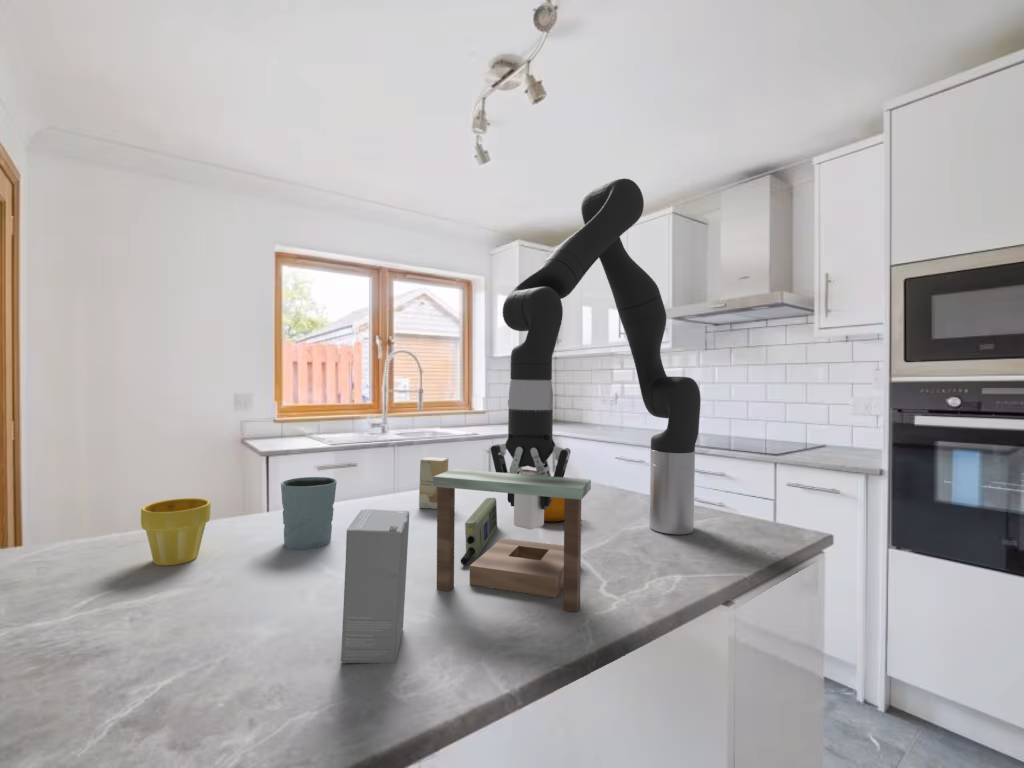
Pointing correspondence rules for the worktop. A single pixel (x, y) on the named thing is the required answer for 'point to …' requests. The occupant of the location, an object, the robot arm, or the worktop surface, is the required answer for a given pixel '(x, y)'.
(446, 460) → the skincare box
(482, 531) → the handheld radio
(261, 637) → the worktop surface
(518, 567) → the stand
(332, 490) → the teal cup
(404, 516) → the skincare box
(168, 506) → the plant pot
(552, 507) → the fruit
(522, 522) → the pepper shaker
